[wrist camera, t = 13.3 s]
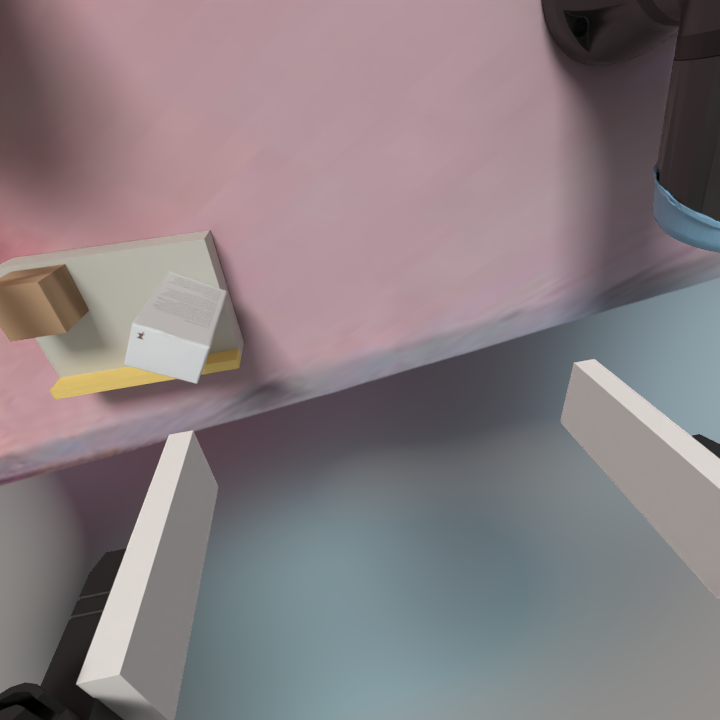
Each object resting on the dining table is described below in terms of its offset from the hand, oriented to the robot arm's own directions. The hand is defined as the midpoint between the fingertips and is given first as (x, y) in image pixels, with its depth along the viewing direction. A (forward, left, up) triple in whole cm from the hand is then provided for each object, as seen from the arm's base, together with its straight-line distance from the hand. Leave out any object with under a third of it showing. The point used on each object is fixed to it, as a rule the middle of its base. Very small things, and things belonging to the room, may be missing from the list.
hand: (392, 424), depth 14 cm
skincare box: (+15, +6, -31) cm, 35 cm away
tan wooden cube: (+28, +3, -31) cm, 42 cm away
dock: (+22, +7, -35) cm, 42 cm away
